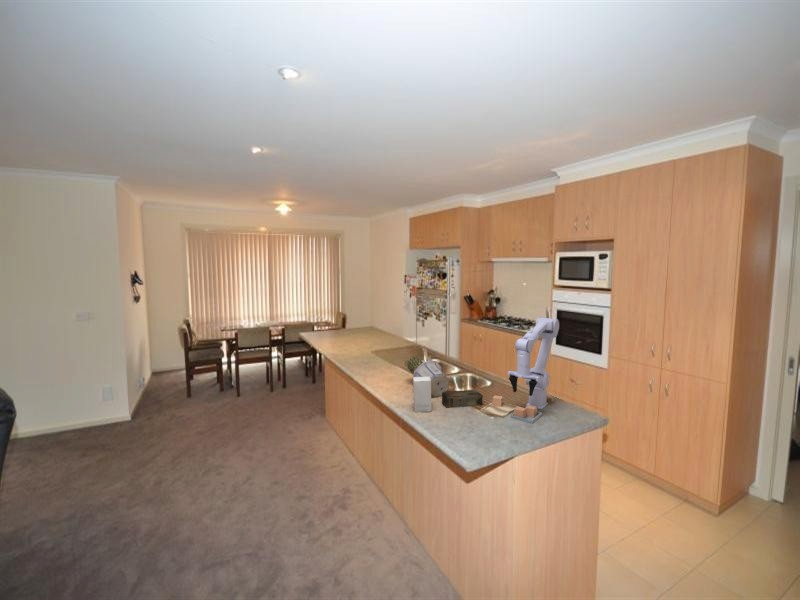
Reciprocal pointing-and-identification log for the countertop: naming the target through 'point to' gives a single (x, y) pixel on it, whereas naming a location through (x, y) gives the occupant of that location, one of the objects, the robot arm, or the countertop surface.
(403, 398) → the countertop surface
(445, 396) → the beverage carton
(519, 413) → the chunk
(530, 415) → the chunk
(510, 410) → the birch tray
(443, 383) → the potted plant
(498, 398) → the chunk
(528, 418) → the slate dish
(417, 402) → the skincare box
